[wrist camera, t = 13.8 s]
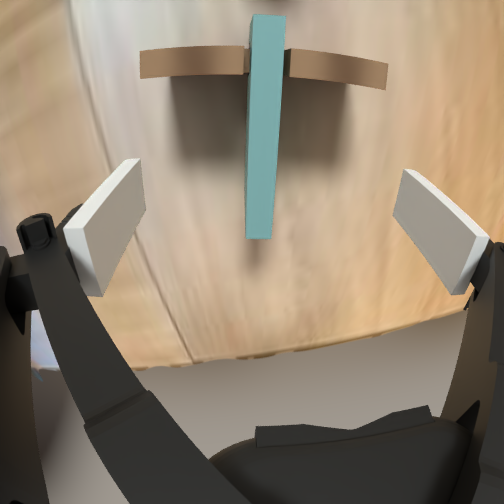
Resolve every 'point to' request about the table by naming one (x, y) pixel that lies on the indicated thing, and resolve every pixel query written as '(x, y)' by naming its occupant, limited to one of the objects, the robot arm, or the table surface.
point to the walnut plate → (238, 61)
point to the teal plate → (263, 122)
